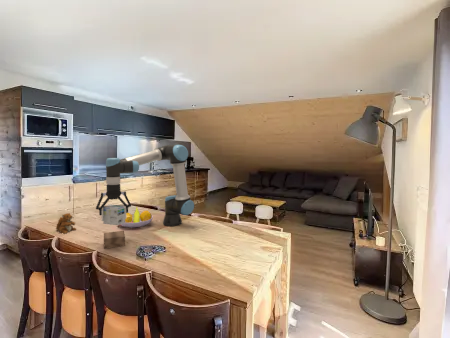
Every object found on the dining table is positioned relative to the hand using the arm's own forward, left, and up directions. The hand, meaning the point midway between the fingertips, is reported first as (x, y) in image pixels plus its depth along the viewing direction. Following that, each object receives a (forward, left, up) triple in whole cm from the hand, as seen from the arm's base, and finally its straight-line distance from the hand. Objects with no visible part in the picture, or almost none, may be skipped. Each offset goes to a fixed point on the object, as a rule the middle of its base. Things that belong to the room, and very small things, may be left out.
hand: (114, 219), depth 146 cm
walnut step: (0, -9, -18) cm, 20 cm away
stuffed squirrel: (+32, -50, -18) cm, 62 cm away
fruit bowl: (-17, -45, -18) cm, 51 cm away
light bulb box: (0, 0, -3) cm, 3 cm away
